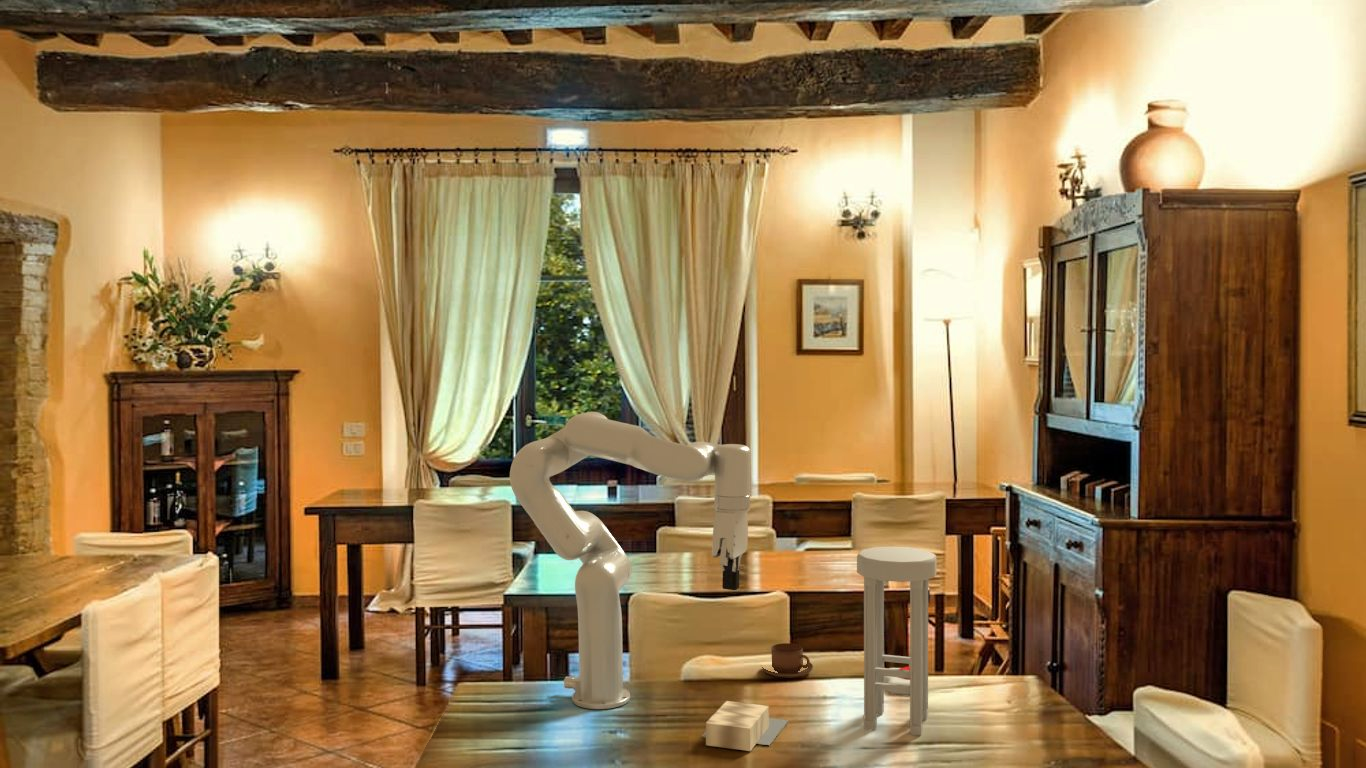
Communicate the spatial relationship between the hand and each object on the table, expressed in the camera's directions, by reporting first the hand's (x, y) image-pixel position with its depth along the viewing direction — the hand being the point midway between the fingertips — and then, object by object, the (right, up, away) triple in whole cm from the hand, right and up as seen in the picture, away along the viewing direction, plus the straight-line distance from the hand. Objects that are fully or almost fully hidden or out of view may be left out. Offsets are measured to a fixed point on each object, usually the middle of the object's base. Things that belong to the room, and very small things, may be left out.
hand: (730, 588), depth 228 cm
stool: (+34, -26, -7) cm, 43 cm away
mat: (+3, -27, -11) cm, 29 cm away
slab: (+3, -24, -9) cm, 26 cm away
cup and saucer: (+14, -25, +25) cm, 38 cm away
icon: (+39, -25, +15) cm, 49 cm away
